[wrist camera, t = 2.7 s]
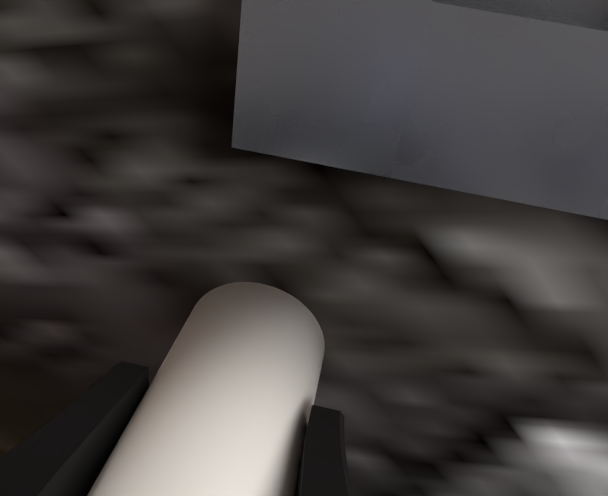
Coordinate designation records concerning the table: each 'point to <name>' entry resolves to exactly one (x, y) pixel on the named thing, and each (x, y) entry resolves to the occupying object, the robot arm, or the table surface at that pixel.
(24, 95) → the table surface
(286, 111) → the socket block
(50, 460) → the robot arm
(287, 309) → the peg
